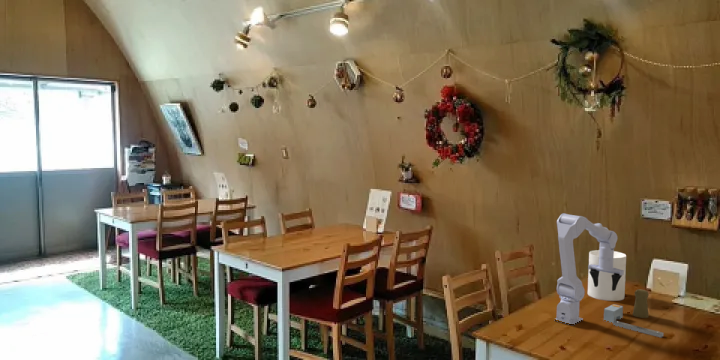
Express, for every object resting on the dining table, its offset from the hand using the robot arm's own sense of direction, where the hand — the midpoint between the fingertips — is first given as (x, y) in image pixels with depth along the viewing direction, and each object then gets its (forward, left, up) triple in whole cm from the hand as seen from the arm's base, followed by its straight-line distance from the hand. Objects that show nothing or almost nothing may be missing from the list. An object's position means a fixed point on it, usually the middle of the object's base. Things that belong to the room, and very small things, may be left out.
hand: (604, 288), depth 241 cm
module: (-9, -8, -10) cm, 15 cm away
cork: (+4, -14, -10) cm, 17 cm away
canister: (+21, +8, -10) cm, 25 cm away
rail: (-15, -20, -10) cm, 26 cm away
